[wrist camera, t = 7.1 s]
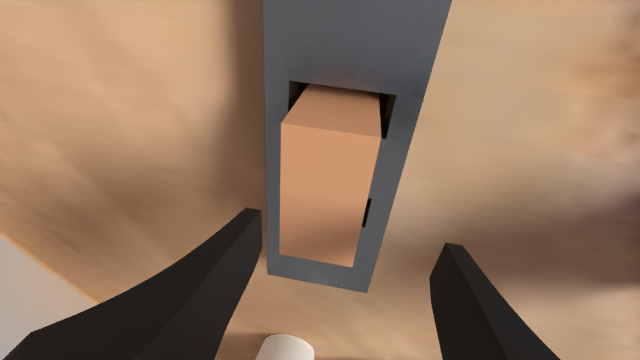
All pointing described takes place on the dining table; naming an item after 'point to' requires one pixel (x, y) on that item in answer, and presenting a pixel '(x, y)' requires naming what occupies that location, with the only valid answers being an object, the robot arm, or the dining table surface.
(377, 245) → the slate rail
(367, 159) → the tan orange block
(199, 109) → the dining table surface
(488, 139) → the dining table surface
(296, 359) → the foam cup
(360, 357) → the dining table surface
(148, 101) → the dining table surface
